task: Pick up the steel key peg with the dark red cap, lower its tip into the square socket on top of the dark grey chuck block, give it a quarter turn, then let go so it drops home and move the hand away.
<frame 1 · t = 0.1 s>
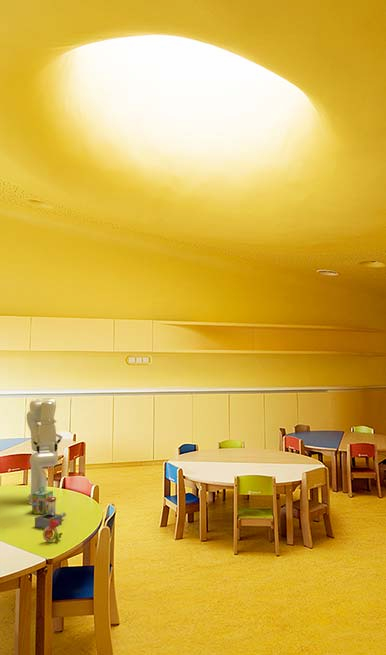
hand: (47, 451, 267), 37 cm above the table, tool pointing down, fingers open, 9 cm apart
chuck block: (48, 525, 248), on the table
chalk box: (42, 512, 273), on the table
key peg: (51, 516, 263), on the table
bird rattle: (52, 542, 224), on the table
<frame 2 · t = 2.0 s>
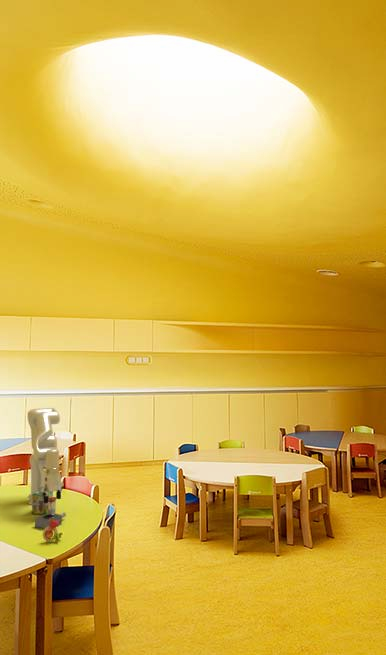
hand: (52, 500, 264), 9 cm above the table, tool pointing down, fingers open, 9 cm apart
nothing on the table moved.
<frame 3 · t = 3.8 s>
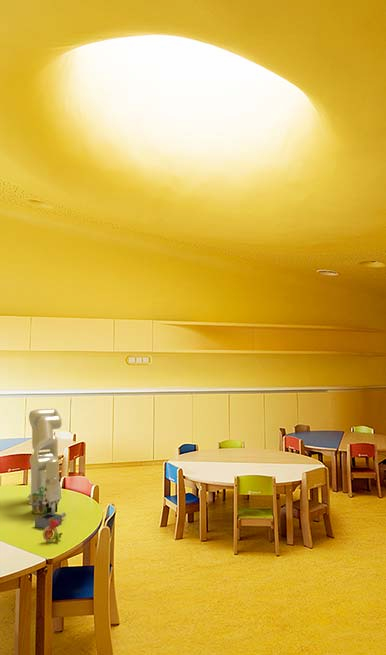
hand: (51, 512, 264), 2 cm above the table, tool pointing down, fingers closed on key peg, 4 cm apart
key peg: (51, 516, 263), on the table, touching gripper
everything else where it was.
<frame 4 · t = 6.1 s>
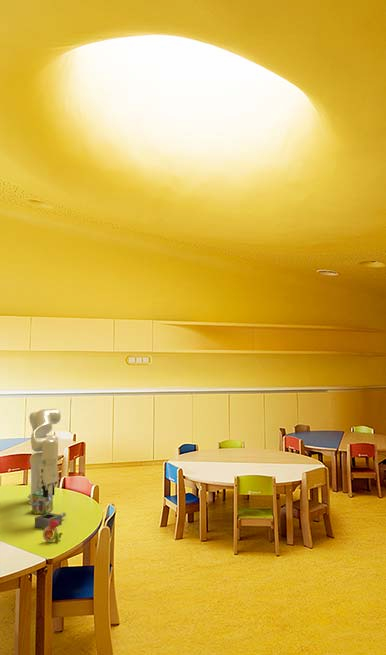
hand: (48, 495, 249), 16 cm above the table, tool pointing down, fingers closed on key peg, 4 cm apart
key peg: (48, 499, 249), point 14 cm above the table, touching gripper
everything else where it was.
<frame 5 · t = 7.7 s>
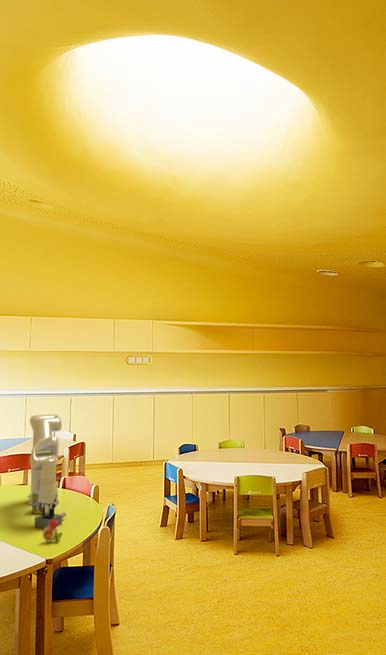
hand: (48, 515, 249), 6 cm above the table, tool pointing down, fingers closed on key peg, 4 cm apart
key peg: (48, 519, 248), point 3 cm above the table, touching gripper
everything else where it was.
when the fingers open (6 cm above the table, at t = 8.7 s): key peg drops 3 cm, resting in chuck block.
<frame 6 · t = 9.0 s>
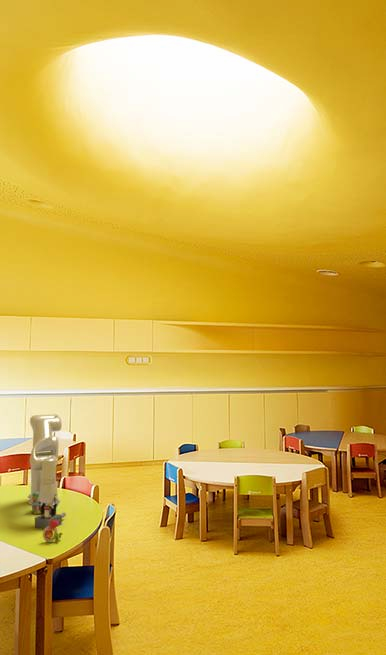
hand: (48, 514, 249), 6 cm above the table, tool pointing down, fingers open, 7 cm apart
key peg: (48, 525, 248), resting in chuck block
everything else where it was.
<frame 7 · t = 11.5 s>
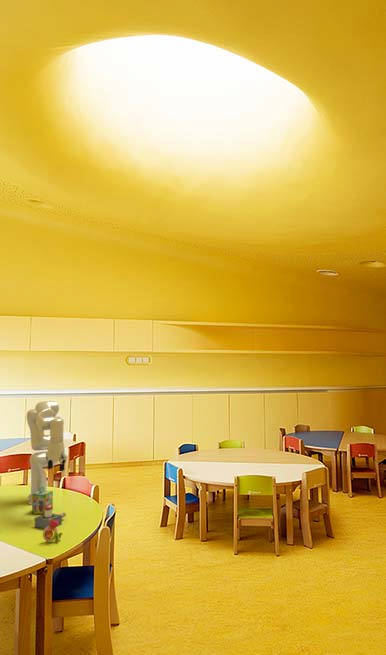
hand: (56, 469, 263), 27 cm above the table, tool pointing down, fingers open, 9 cm apart
nothing on the table moved.
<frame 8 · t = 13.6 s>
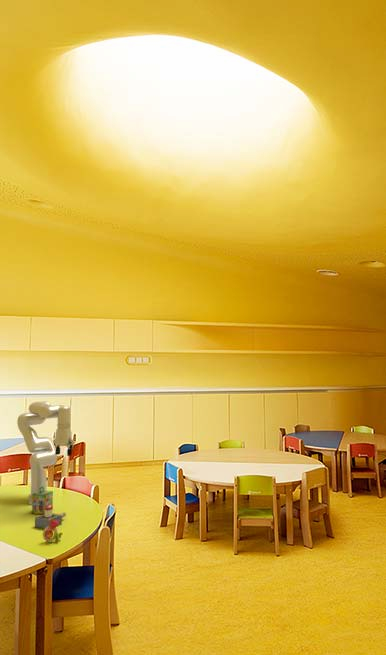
hand: (63, 454, 277), 33 cm above the table, tool pointing down, fingers open, 9 cm apart
nothing on the table moved.
at the end: key peg 0.1 cm off-centre on the chuck block, point 0.0 cm above the chuck block's base; key peg tilted 0°; the gripper is holding nothing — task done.
